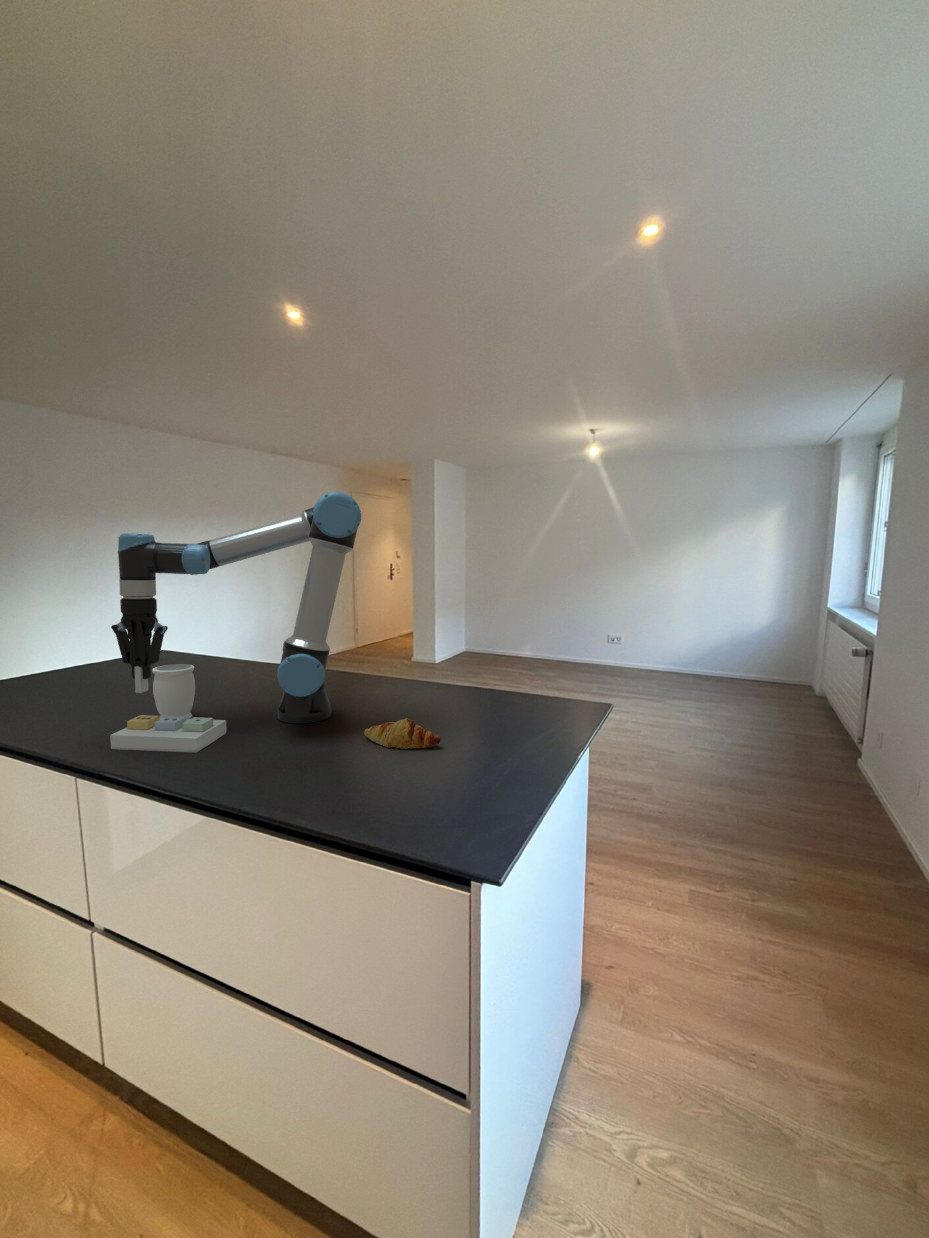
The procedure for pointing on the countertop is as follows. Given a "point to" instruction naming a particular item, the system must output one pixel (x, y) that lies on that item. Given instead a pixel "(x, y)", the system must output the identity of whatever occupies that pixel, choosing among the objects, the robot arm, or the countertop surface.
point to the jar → (174, 690)
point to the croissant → (402, 735)
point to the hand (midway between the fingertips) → (142, 691)
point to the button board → (167, 739)
